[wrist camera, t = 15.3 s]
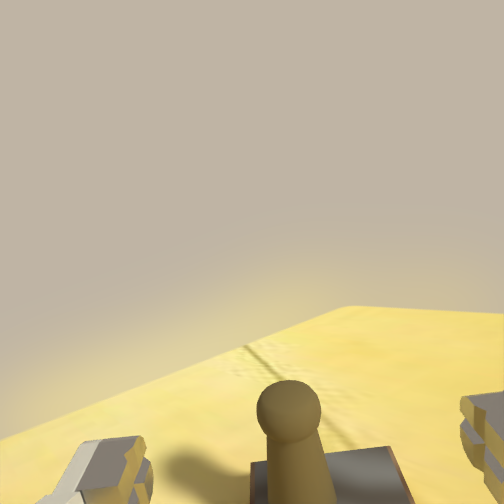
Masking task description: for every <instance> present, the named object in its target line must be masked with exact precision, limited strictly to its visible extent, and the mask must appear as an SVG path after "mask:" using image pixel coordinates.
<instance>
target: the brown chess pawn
mask: <svg viewBox="0 0 504 504" xmlns="http://www.w3.org/2000/svg"><path fill="white" fill-rule="evenodd" d="M320 417H321V406H320V402H319V399H318V397H317V394H316V393H315V392H314V391H313V390H312V389H311V388H310V387H309V386H308V385H307V384H305V383H303V382H299V381H295V380H286V381H279V382H277V383H274V384H272V385H270V386H268V387H267V388H266V389H265V390H264V391H263V392H262V393H261V395H260V397H259V400H258V402H257V419H258V422H259V424H260V426H261V428H262V430H263V432H264V433H265V434H266V435H267V483H268V504H336V503H337V497H336V493H335V489H334V486H333V482H332V479H331V475H330V472H329V468H328V465H327V461H326V458H325V455H324V451H323V448H322V444H321V441H320V437H319V434H318V430H317V427H318V426H319V422H320Z"/></svg>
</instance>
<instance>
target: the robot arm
mask: <svg viewBox="0 0 504 504" xmlns="http://www.w3.org/2000/svg"><path fill="white" fill-rule="evenodd" d="M460 411H461V412H462V414H463V415H464V417H465V419H464V421H463V422H462V423H461V425H460V437H461V441H462V445H463V448H464V451H465V453H466V455H467V457H468V459H469V460H470V462H471V463H472V465H473V466H474V467H475V468H477V469H479V470H480V471H482V472H484V483H485V485H486V486H487V488H488V489H489V491H490V492H491V494H492V495H493V497H494V498H495V500H496V501H497V503H498V504H504V391H500V392H493V393H485V394H477V395H469V396H462V398H461V400H460ZM145 451H146V445H145V442H144V438H143V437H141V436H130V437H120V438H110V439H103V440H93V441H85V442H83V443H82V444H80V446H79V447H78V449H77V451H76V453H75V454H74V456H73V458H72V460H71V461H70V463H69V465H68V467H67V469H66V470H65V472H64V474H63V476H62V477H61V479H60V481H59V483H58V484H57V486H56V488H55V490H54V491H53V493H52V495H45V496H44V497H43V498H42V499H40V500H39V501H38V502H37V503H35V504H149V503H150V500H151V496H152V492H153V470H152V466H151V462H150V461H149V460H147V459H146V458H145V457H144V454H145Z"/></svg>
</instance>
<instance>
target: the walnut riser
mask: <svg viewBox="0 0 504 504" xmlns="http://www.w3.org/2000/svg"><path fill="white" fill-rule="evenodd" d="M324 455H325V458H326V461H327V465H328V468H329V472H330V475H331V479H332V482H333V486H334V489H335V493H336V497H337V503H336V504H415V502H414V500H413V497H412V495H411V493H410V490H409V488H408V486H407V484H406V481H405V479H404V477H403V474H402V472H401V470H400V467H399V465H398V463H397V461H396V458H395V456H394V454H393V451H392V449H391V447H390V446H383V447H375V448H367V449H358V450H350V451H342V452H334V453H325V454H324ZM250 504H268V483H267V461H259V462H252V463H251V473H250Z"/></svg>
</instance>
